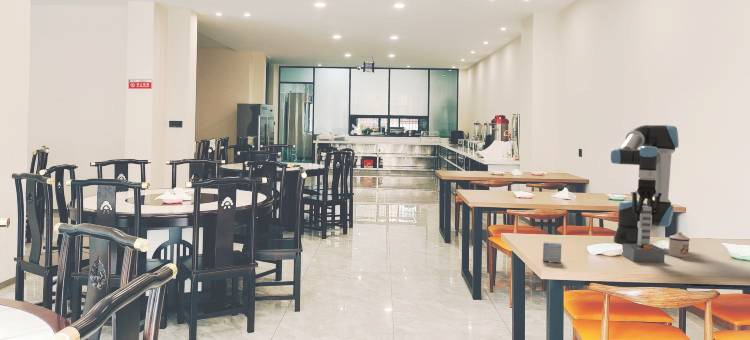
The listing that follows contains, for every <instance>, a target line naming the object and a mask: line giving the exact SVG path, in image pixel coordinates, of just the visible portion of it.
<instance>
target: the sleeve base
mask: <svg viewBox="0 0 750 340" xmlns="http://www.w3.org/2000/svg"><path fill="white" fill-rule="evenodd" d="M621 248H622V249H623V252H622V251H621V254H622V255H621V256H622V257H624V258H626V259H628V260H629V261H631V262H633V263H653V264H654V263H656V264H664V263H665V252H666V250H665V249H663V248H661V247H659V246H657V245H654V244H653V243H650V245H644V248H640V247H638V246H637V244H629V243H623V244H622V247H621ZM622 249H621V250H622Z"/></svg>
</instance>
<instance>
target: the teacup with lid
mask: <svg viewBox="0 0 750 340" xmlns="http://www.w3.org/2000/svg"><path fill="white" fill-rule="evenodd" d="M668 239H669V241H668V255H669V256H671V257H674V258H675V257H677V258H688V257H689V251H690V248H689V247H690V246H689V245H690V237H688V236H685V235H684V234H683V233H682V232H681V231H678V232H676V233H675V234H673V235H670V236H669V237H668Z"/></svg>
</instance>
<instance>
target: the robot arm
mask: <svg viewBox="0 0 750 340" xmlns="http://www.w3.org/2000/svg"><path fill="white" fill-rule="evenodd" d="M678 131H679V130H678V128H677V126H674V125H668V124H665V125H663V124H662V125H657V124H656V125H653V124H651V125H649V124H648V125H647V124H646V125H640V126H637V127H635V128H633V129H631V130H629V131H628V133H627V134H626V136H625V140H624V142H623V143H622V145H620V147H619V148H613V149H612V150H611V152H610V162H611V164H615V165H632V166H633V165H634V166H639V167H638V181H637V183H638V184H637V189H636V190H635V191H632V192H631V193H630V195H631V197H632V198H631V200H629V199H628V200H621V201H620V202H619V203H618V205H619V206H618V220H617V228H616V231H615V234H614V236H613V242H615V243H619V244H622V245H623V243H629V244H637V241H638V228H641V224H642V215H641V214H640V213H641V210H642V206H650V207H652V211H651V228H650V230H651V229H652V227H653V226H654V227H659V228H660V227H663V228H665V227H666V228H667V227H669V226H670V225H671V222H672V220H673V215H674V210H675V206H674V205H672V201H671V200H670V198H669V193H670V192H669V191H670V178H671V164H672V154H673V153H674V152H676V149H678V148H679V146H680V145H679V144H680V143H679V132H678ZM637 196H639V197H637ZM645 200H646V203H644V202H645Z"/></svg>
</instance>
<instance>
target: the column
mask: <svg viewBox="0 0 750 340" xmlns="http://www.w3.org/2000/svg"><path fill="white" fill-rule="evenodd" d="M651 211H652V207H650V206H642V210H641V213H640V214H641V215H642V224H641V228H638V241H637V246H638V247H640V248H644V245H650V244H651V243H650V242H651V229H652V227H651ZM650 228H651V229H650Z"/></svg>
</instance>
